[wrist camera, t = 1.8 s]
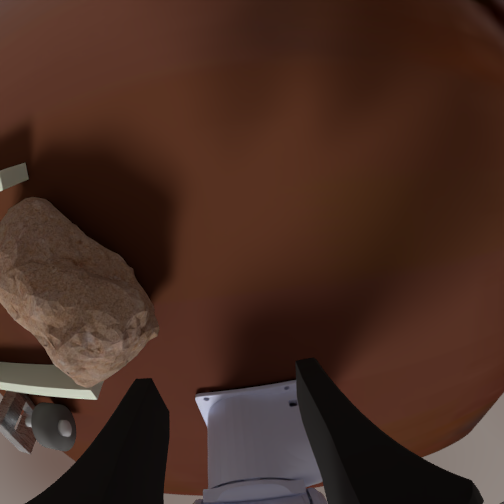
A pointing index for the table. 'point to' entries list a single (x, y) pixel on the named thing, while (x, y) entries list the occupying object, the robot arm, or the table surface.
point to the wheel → (53, 426)
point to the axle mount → (6, 416)
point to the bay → (38, 375)
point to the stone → (71, 293)
